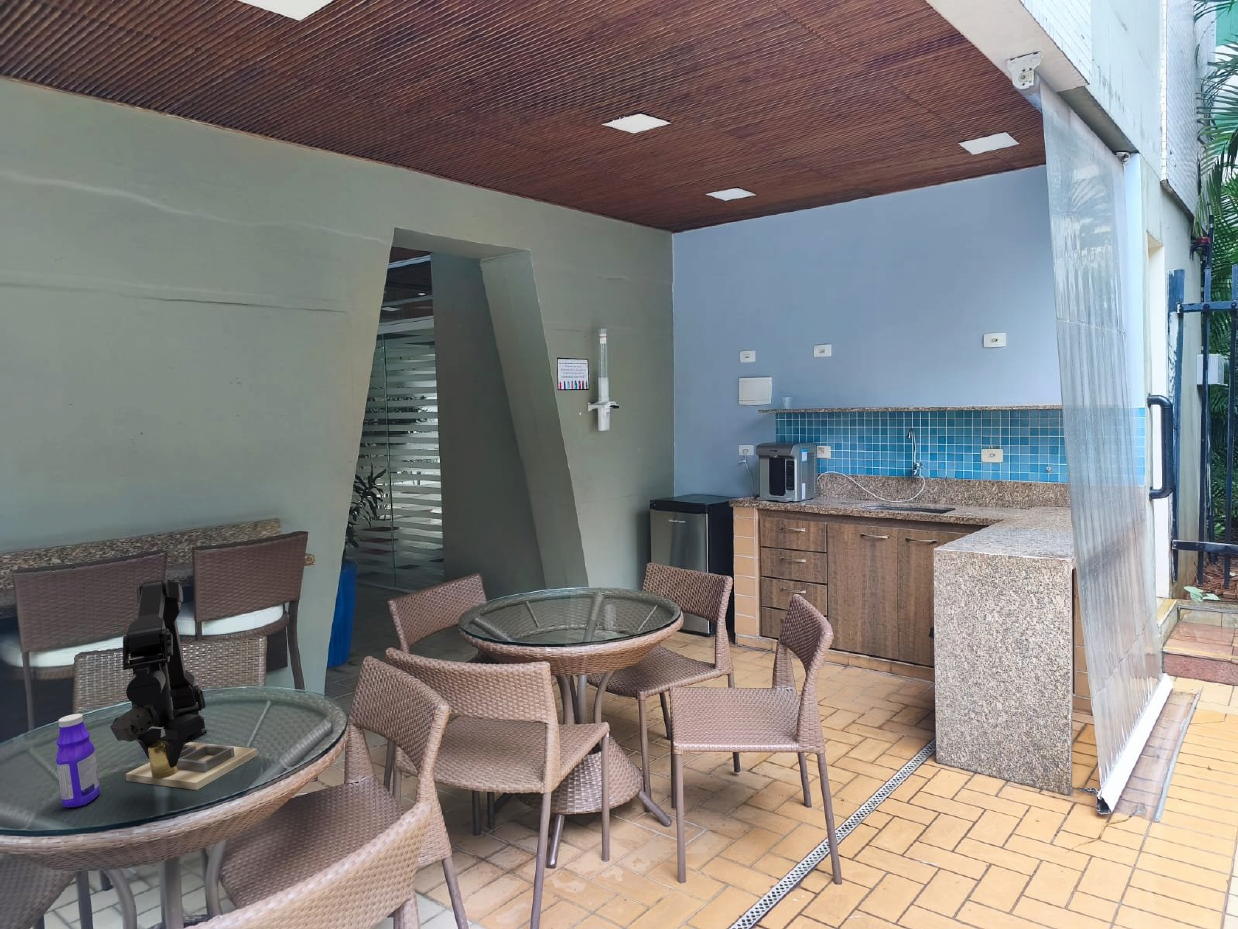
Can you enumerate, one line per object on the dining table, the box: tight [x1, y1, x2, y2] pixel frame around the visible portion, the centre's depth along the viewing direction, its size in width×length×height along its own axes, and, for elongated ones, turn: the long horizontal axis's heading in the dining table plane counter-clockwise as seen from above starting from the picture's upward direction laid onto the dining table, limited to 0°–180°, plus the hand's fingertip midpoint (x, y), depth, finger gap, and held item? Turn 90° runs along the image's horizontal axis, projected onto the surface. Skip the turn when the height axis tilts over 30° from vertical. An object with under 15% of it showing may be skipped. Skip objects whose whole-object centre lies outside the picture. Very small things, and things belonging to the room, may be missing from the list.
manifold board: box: [125, 741, 258, 791], centre depth 179 cm, size 20×16×4 cm
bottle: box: [55, 713, 101, 809], centre depth 167 cm, size 7×6×17 cm
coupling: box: [148, 741, 178, 779], centre depth 165 cm, size 5×5×6 cm
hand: (164, 766), depth 165 cm, fingers closed on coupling, 5 cm apart
